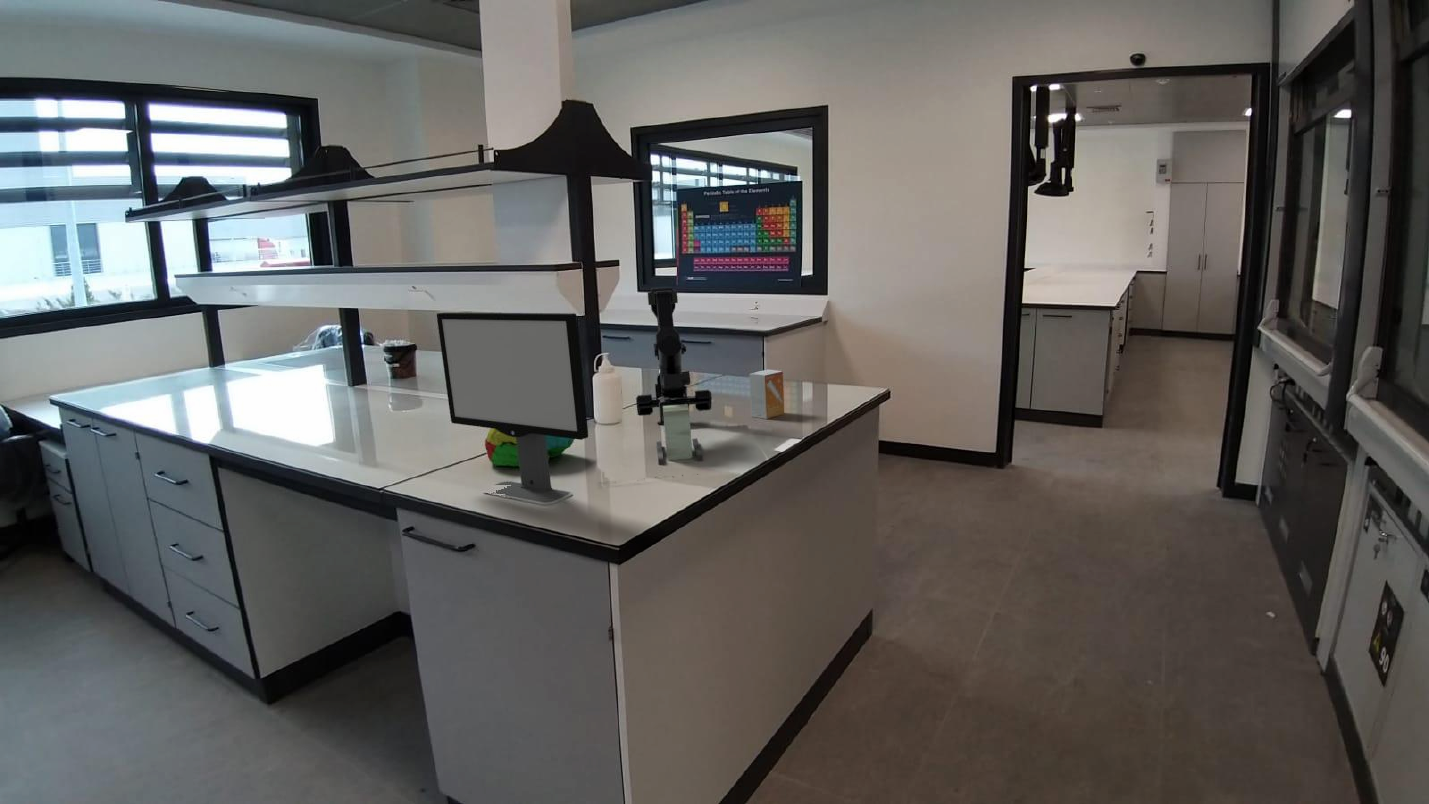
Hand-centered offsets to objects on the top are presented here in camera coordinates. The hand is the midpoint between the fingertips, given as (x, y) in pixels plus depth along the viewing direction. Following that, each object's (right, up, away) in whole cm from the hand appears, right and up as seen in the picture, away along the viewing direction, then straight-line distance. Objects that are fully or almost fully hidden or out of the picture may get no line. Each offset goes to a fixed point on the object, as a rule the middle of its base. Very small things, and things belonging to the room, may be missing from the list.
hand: (677, 431), depth 192 cm
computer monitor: (-32, -13, -19) cm, 40 cm away
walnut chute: (+1, -7, 0) cm, 7 cm away
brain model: (-37, -8, +7) cm, 38 cm away
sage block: (+1, -6, -2) cm, 6 cm away
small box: (+25, +3, +39) cm, 47 cm away
